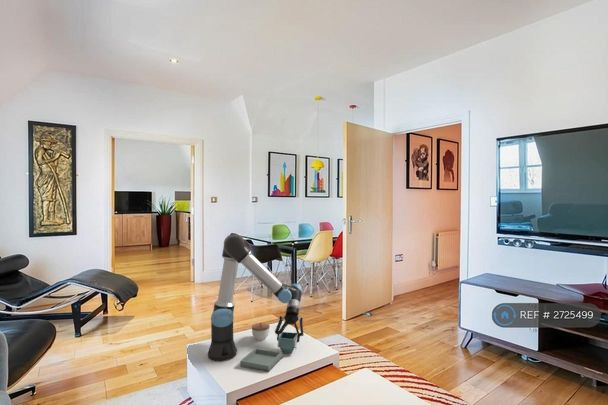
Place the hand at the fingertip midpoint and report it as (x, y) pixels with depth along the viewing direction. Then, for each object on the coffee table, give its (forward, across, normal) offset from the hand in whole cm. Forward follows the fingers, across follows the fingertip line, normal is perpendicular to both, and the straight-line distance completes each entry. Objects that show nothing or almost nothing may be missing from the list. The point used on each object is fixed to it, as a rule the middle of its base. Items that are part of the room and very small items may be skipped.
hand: (286, 347), depth 179 cm
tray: (+11, +11, +5) cm, 16 cm away
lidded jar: (-10, +21, -16) cm, 28 cm away
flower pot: (+1, 0, -5) cm, 5 cm away
